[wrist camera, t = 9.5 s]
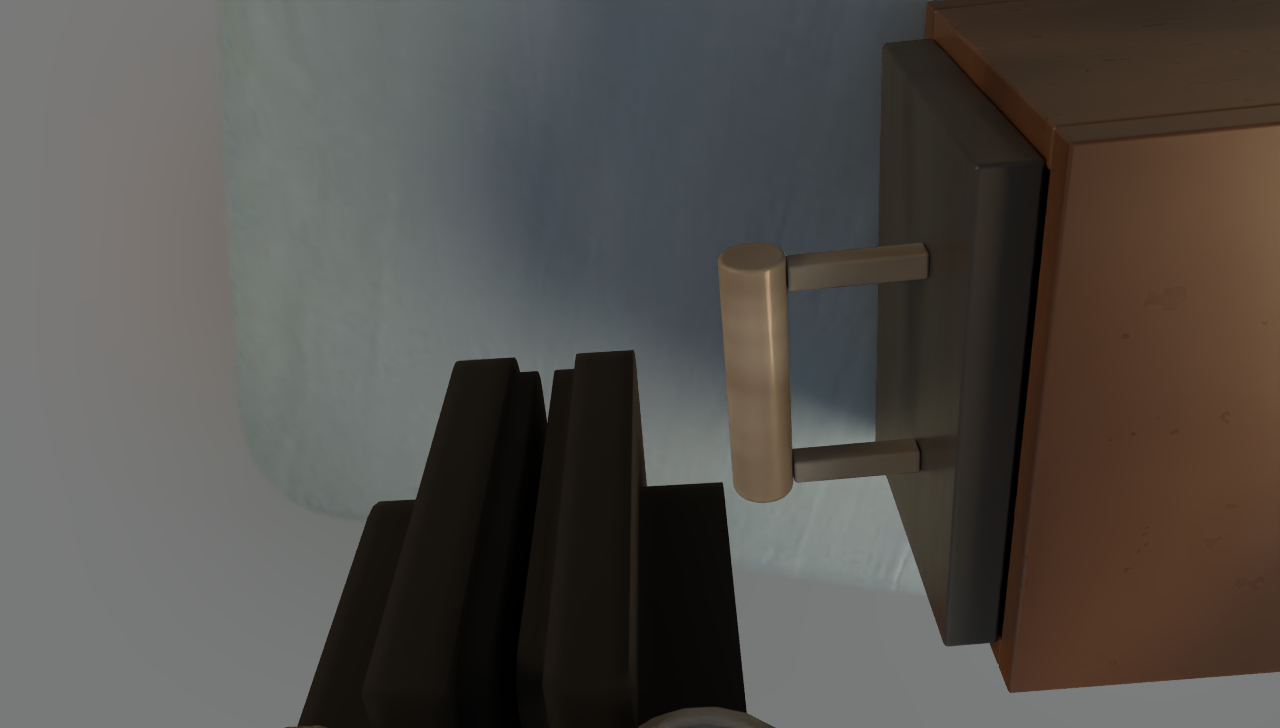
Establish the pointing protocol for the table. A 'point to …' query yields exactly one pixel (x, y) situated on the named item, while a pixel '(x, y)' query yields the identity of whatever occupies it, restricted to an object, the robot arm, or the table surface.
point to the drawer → (915, 334)
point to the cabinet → (1143, 335)
